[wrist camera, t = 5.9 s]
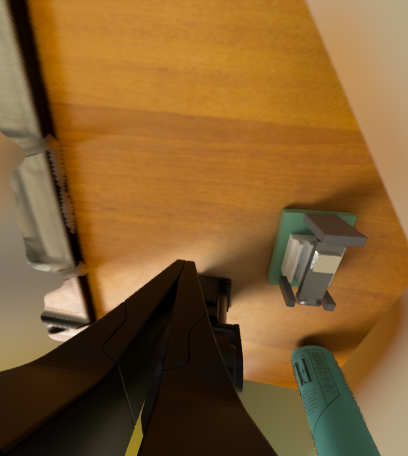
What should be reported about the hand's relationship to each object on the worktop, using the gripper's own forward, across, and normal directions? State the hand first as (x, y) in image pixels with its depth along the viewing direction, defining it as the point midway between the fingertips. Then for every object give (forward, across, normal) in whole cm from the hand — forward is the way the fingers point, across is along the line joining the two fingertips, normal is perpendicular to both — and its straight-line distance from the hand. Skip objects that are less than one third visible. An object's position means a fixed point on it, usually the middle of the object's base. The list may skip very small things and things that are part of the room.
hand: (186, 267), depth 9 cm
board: (+13, -12, +6) cm, 19 cm away
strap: (+9, -12, +6) cm, 16 cm away
